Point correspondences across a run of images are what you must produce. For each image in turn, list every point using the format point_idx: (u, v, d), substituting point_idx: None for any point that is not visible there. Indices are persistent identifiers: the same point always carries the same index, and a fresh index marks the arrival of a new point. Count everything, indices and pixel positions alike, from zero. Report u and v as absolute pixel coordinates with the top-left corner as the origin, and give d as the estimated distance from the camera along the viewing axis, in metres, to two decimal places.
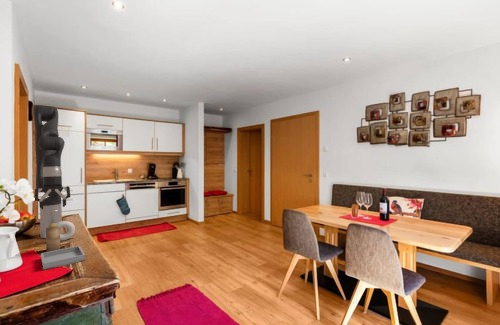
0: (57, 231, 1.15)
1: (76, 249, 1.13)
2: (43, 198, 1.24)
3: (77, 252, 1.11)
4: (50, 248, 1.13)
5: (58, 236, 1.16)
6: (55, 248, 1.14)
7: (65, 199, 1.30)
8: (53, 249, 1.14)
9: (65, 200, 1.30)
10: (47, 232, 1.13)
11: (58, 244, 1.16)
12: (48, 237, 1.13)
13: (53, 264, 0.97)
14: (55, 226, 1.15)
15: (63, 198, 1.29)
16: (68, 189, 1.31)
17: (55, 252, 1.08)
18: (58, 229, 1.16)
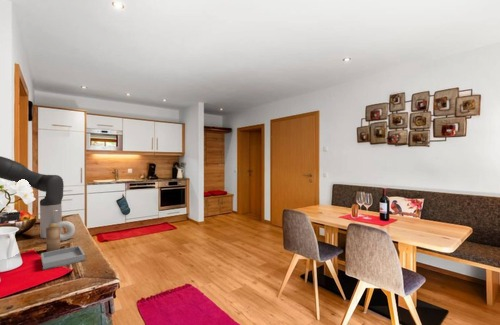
0: (57, 231, 1.15)
1: (76, 249, 1.13)
2: None
3: (77, 252, 1.11)
4: (50, 248, 1.13)
5: (58, 236, 1.16)
6: (55, 248, 1.14)
7: (7, 220, 1.02)
8: (53, 249, 1.14)
9: (9, 220, 1.02)
10: (47, 232, 1.13)
11: (58, 244, 1.16)
12: (48, 237, 1.13)
13: (53, 264, 0.97)
14: (55, 226, 1.15)
15: None
16: None
17: (55, 252, 1.08)
18: (58, 229, 1.16)
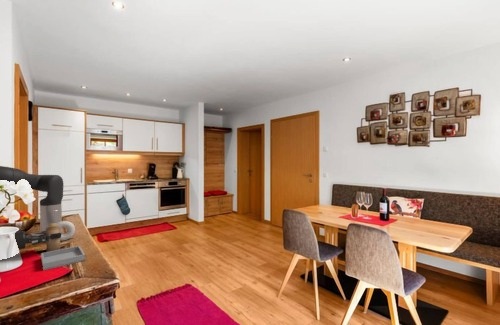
0: (58, 231, 1.15)
1: (76, 249, 1.13)
2: None
3: (77, 252, 1.11)
4: (50, 248, 1.13)
5: None
6: (55, 248, 1.14)
7: (51, 238, 1.12)
8: (53, 249, 1.14)
9: (52, 238, 1.13)
10: (47, 232, 1.13)
11: (58, 244, 1.16)
12: None
13: (53, 264, 0.97)
14: (55, 226, 1.15)
15: (49, 239, 1.13)
16: None
17: (55, 252, 1.08)
18: (58, 229, 1.16)
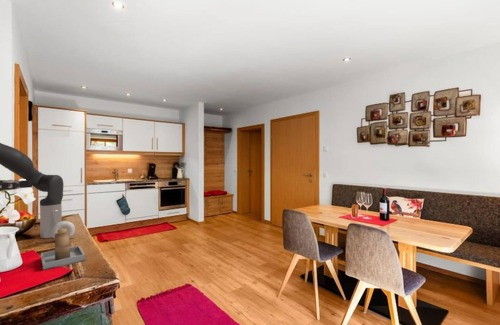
0: (67, 238, 1.04)
1: (76, 249, 1.13)
2: None
3: (77, 252, 1.11)
4: (59, 256, 1.02)
5: (68, 243, 1.04)
6: (65, 256, 1.03)
7: None
8: (62, 257, 1.02)
9: (21, 187, 0.96)
10: (56, 239, 1.02)
11: (68, 252, 1.04)
12: (57, 244, 1.02)
13: (53, 264, 0.97)
14: (65, 232, 1.04)
15: None
16: (0, 190, 0.91)
17: None
18: (68, 235, 1.04)
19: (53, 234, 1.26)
